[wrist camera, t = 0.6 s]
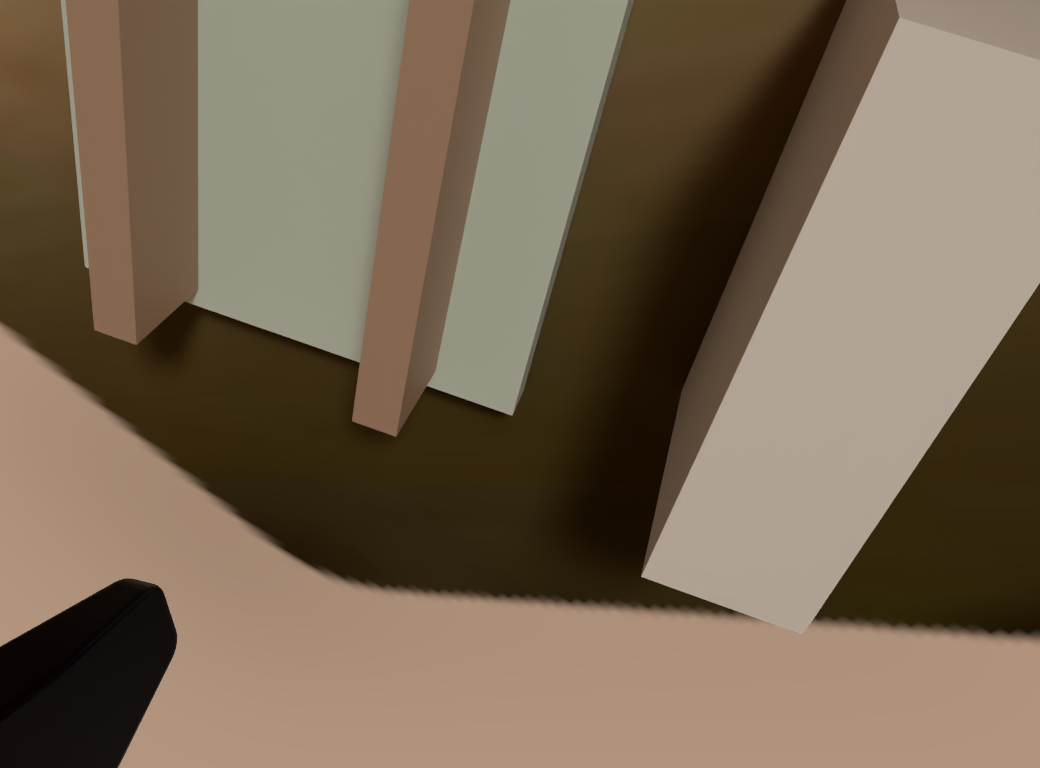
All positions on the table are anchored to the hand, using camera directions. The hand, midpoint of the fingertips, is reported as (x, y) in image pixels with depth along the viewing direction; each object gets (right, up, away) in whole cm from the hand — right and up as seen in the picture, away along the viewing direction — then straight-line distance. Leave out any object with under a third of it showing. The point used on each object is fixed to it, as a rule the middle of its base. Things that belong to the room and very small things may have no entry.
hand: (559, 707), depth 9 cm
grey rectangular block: (+6, +6, +9) cm, 13 cm away
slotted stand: (-4, +10, +10) cm, 14 cm away
